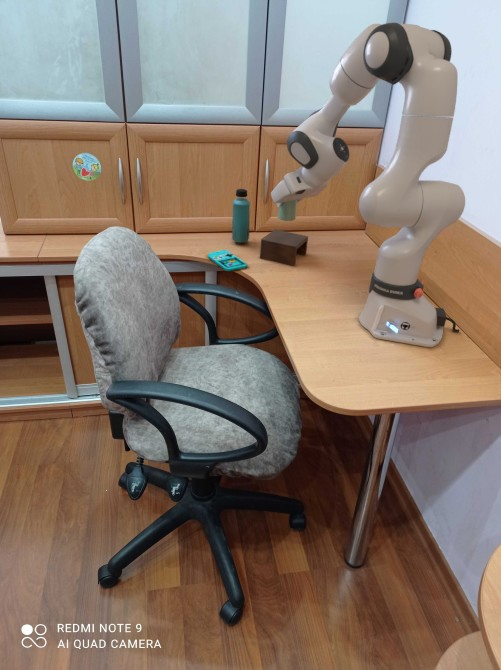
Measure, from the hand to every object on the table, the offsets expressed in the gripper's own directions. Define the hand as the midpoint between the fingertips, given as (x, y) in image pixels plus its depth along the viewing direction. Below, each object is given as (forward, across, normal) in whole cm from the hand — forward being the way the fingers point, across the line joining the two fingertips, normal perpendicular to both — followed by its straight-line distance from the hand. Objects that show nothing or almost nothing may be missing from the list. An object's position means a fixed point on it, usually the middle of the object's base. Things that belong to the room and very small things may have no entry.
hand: (286, 203), depth 160 cm
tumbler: (+3, 0, +4) cm, 5 cm away
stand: (+13, 0, +14) cm, 19 cm away
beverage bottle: (+26, +5, +1) cm, 27 cm away
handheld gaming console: (+18, +20, +9) cm, 28 cm away
